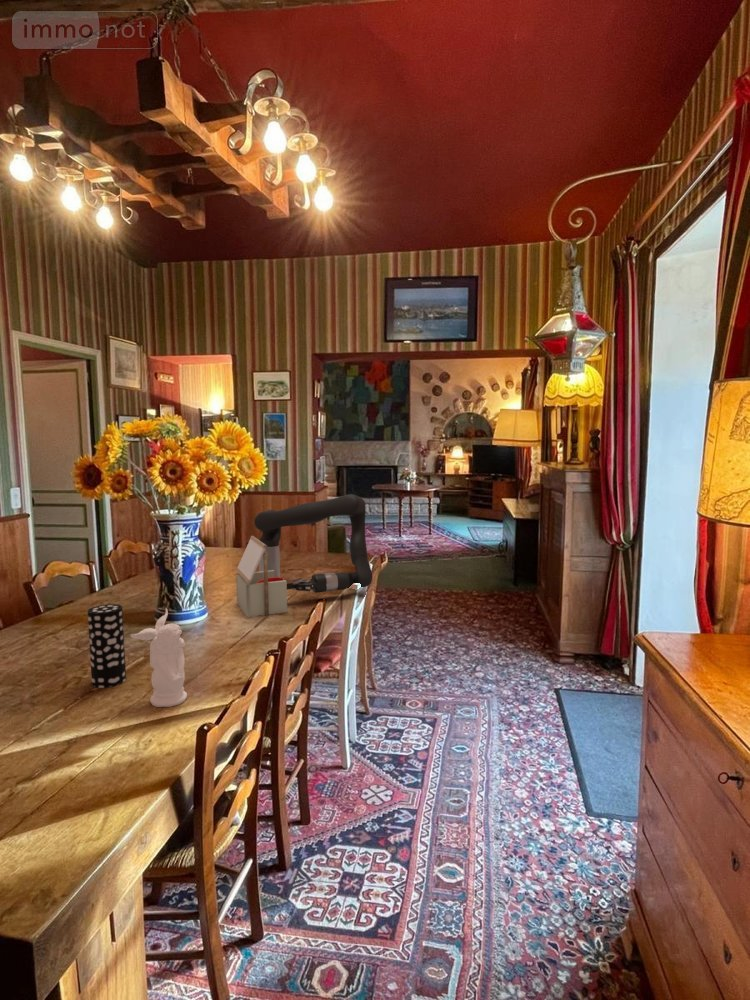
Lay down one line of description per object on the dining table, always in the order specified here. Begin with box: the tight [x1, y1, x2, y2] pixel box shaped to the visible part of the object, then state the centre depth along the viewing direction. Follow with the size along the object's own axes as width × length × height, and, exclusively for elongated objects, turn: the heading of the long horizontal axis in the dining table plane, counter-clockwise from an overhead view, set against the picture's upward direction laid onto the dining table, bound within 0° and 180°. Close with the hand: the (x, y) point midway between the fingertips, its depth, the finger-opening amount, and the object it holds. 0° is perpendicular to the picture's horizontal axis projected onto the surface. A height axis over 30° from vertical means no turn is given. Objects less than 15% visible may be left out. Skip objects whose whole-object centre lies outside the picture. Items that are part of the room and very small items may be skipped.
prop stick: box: [263, 553, 270, 617], centre depth 205 cm, size 1×1×24 cm
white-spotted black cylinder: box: [87, 603, 127, 689], centre depth 149 cm, size 8×8×20 cm
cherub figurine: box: [130, 607, 188, 708], centre depth 137 cm, size 12×12×22 cm
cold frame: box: [235, 570, 288, 618], centre depth 216 cm, size 20×15×12 cm
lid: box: [235, 535, 267, 584], centre depth 213 cm, size 23×15×1 cm
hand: (283, 586), depth 219 cm, fingers closed
